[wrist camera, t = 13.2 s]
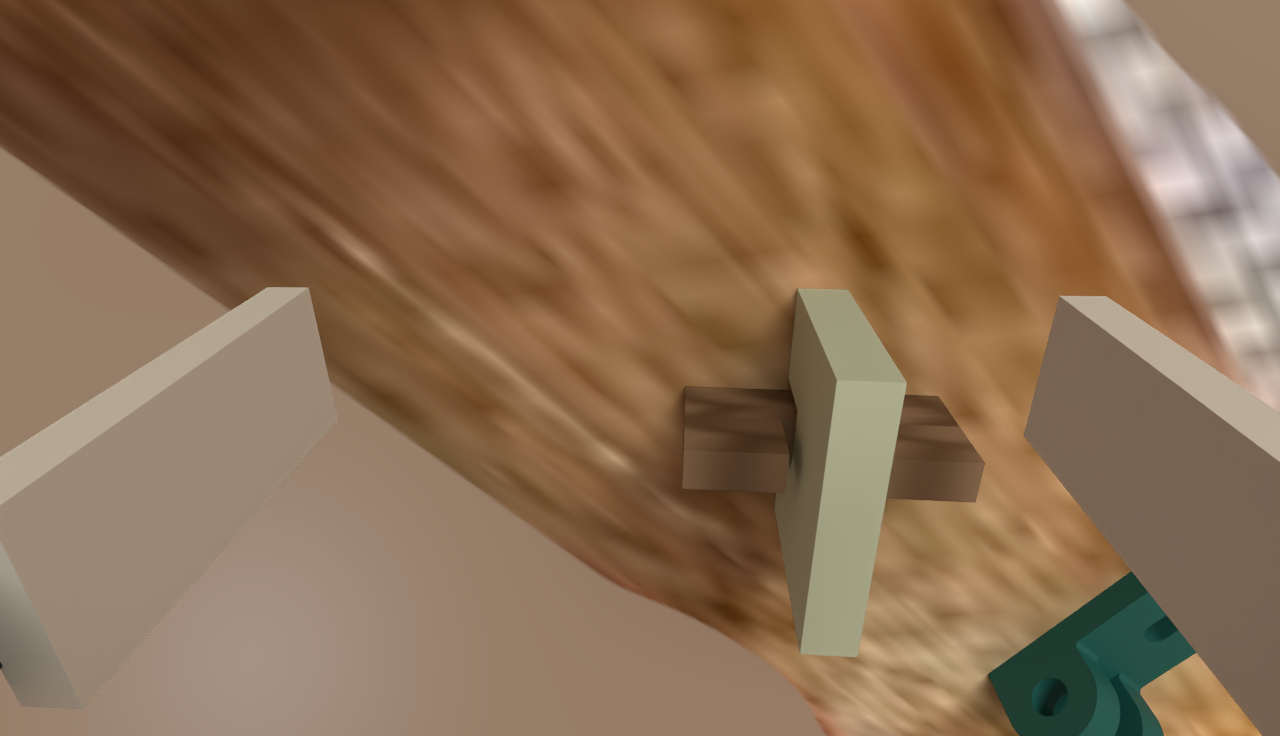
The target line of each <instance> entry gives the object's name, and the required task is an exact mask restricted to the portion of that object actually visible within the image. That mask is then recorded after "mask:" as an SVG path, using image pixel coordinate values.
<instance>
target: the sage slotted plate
mask: <svg viewBox="0 0 1280 736" xmlns="http://www.w3.org/2000/svg"><path fill="white" fill-rule="evenodd" d="M788 379H789V383H790V386H791V390H792V393H793V397H794V400H795V404H796V407H797V420H796V429H795V438H794V447H793V456H792V457H789V464H788V473H787V482H786V490H785V494H784V493H776V499H775V508H774V510H775V516H776V521H777V527H778V533H779V538H780V544H781V550H782V555H783V561H784V567H785V572H786V578H787V584H788V589H789V595H790V601H791V606H792V612H793V618H794V623H795V629H796V634H797V640H798V646H799V651H800V654H809V655H827V656H844V657H858V652H859V646H860V641H861V635H862V630H863V624H864V618H865V613H866V607H867V602H868V596H869V591H870V585H871V579H872V574H873V568H874V563H875V557H876V552H877V546H878V540H879V535H880V529H881V524H882V518H883V513H884V507H885V502H886V496H887V490H888V485H889V479H890V474H891V468H892V463H893V457H894V451H895V446H896V440H897V435H898V429H899V424H900V418H901V413H902V407H903V401H904V396H905V390H906V385H907V382H906V381H905V379H904V377H903V376H902V374H901V373H900V371H899V370H898V368H897V366H896V365H895V363H894V362H893V360H892V359H891V357H890V355H889V354H888V352H887V351H886V349H885V347H884V346H883V344H882V343H881V341H880V340H879V338H878V336H877V335H876V333H875V332H874V330H873V329H872V327H871V325H870V324H869V322H868V321H867V319H866V317H865V316H864V314H863V313H862V311H861V310H860V308H859V306H858V305H857V303H856V302H855V300H854V298H853V297H852V295H851V294H850V292H849V291H848V290H835V289H802V288H797V298H796V308H795V317H794V327H793V336H792V346H791V355H790V365H789V374H788Z"/></svg>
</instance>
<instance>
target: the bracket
mask: <svg viewBox="0 0 1280 736" xmlns="http://www.w3.org/2000/svg"><path fill="white" fill-rule="evenodd" d="M1195 653H1196V651H1195V650H1194V649H1193V648H1192V646H1191V645H1190V644H1189V643H1188V641H1187V640H1186V639H1185V638H1184V636H1183V635H1182V634H1181V633H1180V631H1179V630H1178V629H1177V628H1176V626H1175V625H1174V624H1173V622H1172V621H1171V620H1170V619H1169V617H1168V616H1167V615H1166V614H1165V612H1164V611H1163V610H1162V609H1161V607H1160V606H1159V605H1158V604H1157V602H1156V601H1155V600H1154V599H1153V597H1152V596H1151V595H1150V594H1149V592H1148V591H1147V590H1146V589H1145V587H1144V586H1143V585H1142V584H1141V582H1140V581H1139V580H1138V579H1137V577H1136V576H1135V575H1134V574H1133V572H1132V571H1131V572H1130V573H1128V574H1127V575H1126V576H1124V577H1123V578H1121V579H1120V580H1119V581H1117V582H1116V583H1114V584H1113V585H1112V586H1110V587H1109V588H1107V589H1106V590H1105V591H1103V592H1102V593H1101V594H1099V595H1098V596H1096V597H1095V598H1094V599H1092V600H1091V601H1089V602H1088V603H1087V604H1085V605H1084V606H1082V607H1081V608H1080V609H1078V610H1077V611H1075V612H1074V613H1073V614H1071V615H1070V616H1068V617H1067V618H1066V619H1064V620H1063V621H1062V622H1060V623H1059V624H1057V625H1056V626H1055V627H1053V628H1052V629H1050V630H1049V631H1048V632H1046V633H1045V634H1043V635H1042V636H1041V637H1039V638H1038V639H1036V640H1035V641H1034V642H1032V643H1031V644H1029V645H1028V646H1027V647H1025V648H1024V649H1022V650H1021V651H1020V652H1018V653H1017V654H1016V655H1014V656H1013V657H1011V658H1010V659H1009V660H1007V661H1006V662H1004V663H1003V664H1002V665H1000V666H999V667H997V668H996V669H995V670H993V671H992V672H990V673H989V674H988V675H989V677H990V679H991V682H992V684H993V686H994V688H995V690H996V692H997V694H998V697H999V699H1000V701H1001V703H1002V705H1003V707H1004V709H1005V711H1006V714H1007V716H1008V718H1009V720H1010V722H1011V724H1012V726H1013V728H1014V729H1015V731H1016V732H1017V733H1018V734H1019V735H1020V736H1164V735H1163V731H1162V728H1161V726H1160V723H1159V721H1158V720H1157V718H1156V717H1155V715H1154V714H1153V712H1152V711H1151V709H1150V708H1149V706H1148V705H1147V703H1146V702H1145V701H1144V699H1143V698H1142V696H1141V695H1140V690H1141V688H1142V687H1143V686H1145V685H1147V684H1148V683H1150V682H1151V681H1153V680H1154V679H1156V678H1157V677H1159V676H1160V675H1162V674H1164V673H1165V672H1167V671H1168V670H1170V669H1171V668H1173V667H1174V666H1176V665H1178V664H1179V663H1181V662H1182V661H1184V660H1185V659H1187V658H1188V657H1190V656H1192V655H1193V654H1195Z"/></svg>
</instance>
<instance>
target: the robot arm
mask: <svg viewBox="0 0 1280 736" xmlns="http://www.w3.org/2000/svg"><path fill="white" fill-rule="evenodd" d="M337 421H338V418H337V414H336V409H335V404H334V400H333V396H332V391H331V386H330V382H329V377H328V373H327V368H326V364H325V359H324V355H323V350H322V346H321V341H320V337H319V332H318V328H317V323H316V319H315V314H314V310H313V305H312V301H311V296H310V292H309V288H290V287H267V288H266V289H264V290H263V291H261V292H259V293H258V294H256V295H255V296H253V297H252V298H250V299H248V300H247V301H245V302H244V303H242V304H241V305H239V306H237V307H236V308H234V309H233V310H231V311H230V312H228V313H226V314H225V315H223V316H222V317H220V318H219V319H217V320H216V321H214V322H212V323H211V324H209V325H208V326H206V327H205V328H203V329H201V330H200V331H198V332H197V333H195V334H193V335H192V336H190V337H189V338H187V339H186V340H184V341H182V342H181V343H179V344H178V345H176V346H174V347H173V348H171V349H170V350H168V351H167V352H165V353H163V354H162V355H160V356H159V357H157V358H156V359H154V360H153V361H151V362H150V363H148V364H146V365H145V366H143V367H141V368H140V369H138V370H137V371H135V372H134V373H132V374H130V375H129V376H127V377H126V378H124V379H123V380H121V381H119V382H118V383H117V384H115V385H113V386H112V387H110V388H108V389H107V390H105V391H104V392H102V393H101V394H99V395H97V396H96V397H94V398H93V399H91V400H90V401H88V402H86V403H85V404H83V405H82V406H80V407H79V408H77V409H75V410H74V411H72V412H71V413H69V414H68V415H66V416H65V417H63V418H61V419H60V420H58V421H57V422H55V423H53V424H52V425H50V426H49V427H47V428H46V429H44V430H43V431H41V432H39V433H38V434H36V435H35V436H33V437H32V438H30V439H28V440H27V441H25V442H24V443H22V444H20V445H19V446H17V447H16V448H14V449H13V450H11V451H10V452H8V453H6V454H5V455H3V456H2V457H0V669H1V670H2V672H3V674H4V676H5V678H6V680H7V681H8V683H9V685H10V687H11V689H12V690H13V692H14V694H15V696H16V698H17V699H18V701H19V703H20V704H21V706H25V707H46V708H65V709H85V708H86V707H87V706H88V705H89V703H90V702H91V701H92V700H93V699H94V698H95V697H96V696H97V694H98V693H99V692H100V691H101V690H102V689H103V687H105V685H106V684H107V683H108V682H109V680H111V678H112V677H113V676H114V675H115V674H116V673H117V672H118V670H119V669H120V668H121V667H122V666H123V665H124V664H125V663H126V661H127V660H128V659H129V658H130V657H131V656H132V655H133V653H134V652H135V651H136V650H137V649H138V648H139V647H140V645H141V644H142V643H143V642H144V641H145V639H147V637H148V636H149V635H150V634H151V633H152V632H153V631H154V630H155V628H156V627H157V626H158V625H159V624H160V623H161V622H162V620H163V619H164V618H165V617H166V616H167V615H168V614H169V612H170V611H171V610H172V609H173V608H174V607H175V606H176V604H177V603H178V602H179V601H180V600H181V599H182V598H183V596H184V595H185V594H186V593H187V592H188V591H189V590H190V588H191V587H192V586H193V585H194V584H195V583H196V582H197V580H198V579H199V578H200V577H201V576H202V575H203V574H204V573H205V571H206V570H207V569H208V568H209V567H210V565H211V564H212V563H213V562H214V561H215V560H216V558H218V556H219V555H220V554H221V553H222V552H223V551H224V549H225V548H226V547H227V546H228V545H229V544H230V543H231V542H232V541H233V539H234V538H235V537H236V536H237V535H238V533H240V531H241V530H242V529H243V528H244V527H245V526H246V525H247V523H248V522H249V521H250V520H251V519H252V518H253V517H254V515H255V514H256V513H257V512H258V511H259V510H260V509H261V508H262V506H263V505H264V504H265V503H266V502H267V501H268V500H269V498H270V497H271V496H272V495H273V494H274V493H275V492H276V490H277V489H278V488H279V487H280V486H281V484H283V482H284V481H285V480H286V479H287V478H288V477H289V476H290V474H291V473H292V472H293V471H294V470H295V469H296V468H297V466H298V465H299V464H300V463H301V462H302V461H303V460H304V458H305V457H306V456H307V455H308V454H309V453H310V452H311V450H312V449H313V448H314V447H315V446H316V445H317V444H318V442H319V441H320V440H321V439H322V438H323V437H324V435H326V433H327V432H328V431H329V430H330V429H331V428H332V426H333V425H334V424H335V423H336V422H337ZM1024 437H1025V438H1026V439H1027V441H1028V442H1029V443H1030V444H1031V446H1032V447H1033V448H1034V449H1035V451H1036V452H1037V453H1038V454H1039V456H1040V457H1041V458H1042V459H1043V461H1044V462H1045V463H1046V464H1047V466H1048V467H1049V468H1050V469H1051V471H1052V472H1053V473H1054V474H1055V476H1056V477H1057V478H1058V479H1059V481H1060V482H1061V483H1062V484H1063V486H1064V487H1065V488H1066V489H1067V491H1068V492H1069V493H1070V494H1071V496H1072V497H1073V498H1074V500H1075V501H1076V502H1077V503H1078V505H1079V506H1080V507H1081V508H1082V510H1083V511H1084V512H1085V513H1086V515H1087V516H1088V517H1089V518H1090V520H1091V521H1092V522H1093V523H1094V525H1095V526H1096V527H1097V528H1098V530H1099V531H1100V532H1101V533H1102V535H1103V536H1104V537H1105V538H1106V540H1107V541H1108V542H1109V543H1110V545H1111V546H1112V547H1113V548H1114V550H1115V551H1116V552H1117V553H1118V555H1119V556H1120V557H1121V558H1122V560H1123V561H1124V562H1125V564H1126V565H1127V566H1128V567H1129V569H1130V570H1131V571H1132V572H1133V574H1134V575H1135V576H1136V577H1137V579H1138V580H1139V581H1140V582H1141V584H1142V585H1143V586H1144V587H1145V589H1146V590H1147V591H1148V592H1149V594H1150V595H1151V596H1152V597H1153V599H1154V600H1155V601H1156V602H1157V604H1158V605H1159V606H1160V607H1161V609H1162V610H1163V611H1164V612H1165V614H1166V615H1167V616H1168V617H1169V619H1170V620H1171V621H1172V622H1173V624H1174V625H1175V626H1176V628H1177V629H1178V630H1179V631H1180V633H1181V634H1182V635H1183V636H1184V638H1185V639H1186V640H1187V641H1188V643H1189V644H1190V645H1191V646H1192V648H1193V649H1194V650H1195V651H1196V653H1197V654H1198V655H1199V656H1200V658H1201V659H1202V660H1203V661H1204V663H1205V664H1206V665H1207V666H1208V668H1209V669H1210V670H1211V671H1212V673H1213V674H1214V675H1215V676H1216V678H1217V679H1218V680H1219V681H1220V683H1221V684H1222V685H1223V686H1224V688H1225V689H1226V690H1227V692H1228V693H1229V694H1230V695H1231V697H1232V698H1233V699H1234V700H1235V702H1236V703H1237V704H1238V705H1239V707H1240V708H1241V709H1242V710H1243V712H1244V713H1245V714H1246V715H1247V717H1248V718H1249V719H1250V720H1251V722H1252V723H1253V724H1254V725H1255V727H1256V728H1257V729H1258V730H1259V732H1260V733H1261V734H1262V735H1263V736H1280V412H1278V411H1277V410H1275V409H1274V408H1272V407H1271V406H1269V405H1268V404H1266V403H1265V402H1263V401H1262V400H1260V399H1259V398H1257V397H1256V396H1254V395H1253V394H1251V393H1250V392H1248V391H1247V390H1245V389H1244V388H1242V387H1241V386H1239V385H1238V384H1236V383H1235V382H1233V381H1232V380H1230V379H1229V378H1227V377H1226V376H1224V375H1223V374H1221V373H1220V372H1218V371H1217V370H1215V369H1214V368H1212V367H1211V366H1209V365H1208V364H1206V363H1205V362H1203V361H1202V360H1201V359H1199V358H1198V357H1196V356H1195V355H1193V354H1192V353H1190V352H1189V351H1187V350H1186V349H1184V348H1183V347H1181V346H1180V345H1178V344H1177V343H1175V342H1174V341H1172V340H1171V339H1169V338H1168V337H1166V336H1165V335H1163V334H1162V333H1160V332H1159V331H1157V330H1156V329H1154V328H1153V327H1151V326H1150V325H1148V324H1147V323H1145V322H1144V321H1142V320H1141V319H1139V318H1138V317H1136V316H1135V315H1133V314H1132V313H1130V312H1129V311H1127V310H1126V309H1124V308H1123V307H1121V306H1120V305H1118V304H1117V303H1115V302H1114V301H1112V300H1111V299H1109V298H1108V297H1106V296H1059V300H1058V304H1057V308H1056V312H1055V315H1054V319H1053V323H1052V327H1051V331H1050V335H1049V339H1048V343H1047V347H1046V351H1045V354H1044V358H1043V362H1042V366H1041V370H1040V374H1039V378H1038V382H1037V386H1036V390H1035V394H1034V397H1033V401H1032V405H1031V409H1030V413H1029V417H1028V421H1027V425H1026V429H1025V433H1024Z"/></svg>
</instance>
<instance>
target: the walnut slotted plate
mask: <svg viewBox="0 0 1280 736" xmlns="http://www.w3.org/2000/svg"><path fill="white" fill-rule="evenodd" d="M796 420H797V407H796V404H795V400H794V397H793V393H792V391H790V390H764V389H738V388H713V387H687V386H685V404H684V434H683V476H682V489H699V490H720V491H742V492H763V493H784V494H785V490H786V482H787V473H788V464H789V457H792V456H793V447H794V438H795V429H796ZM984 465H985V463H984V461H983V460H982V458H981V457H980V455H979V454H978V453H977V451H976V450H975V448H974V447H973V445H972V444H971V443H970V441H969V440H968V438H967V437H966V435H965V434H964V432H963V431H962V430H961V428H960V427H959V425H958V424H957V422H956V421H955V420H954V418H953V417H952V415H951V414H950V412H949V411H948V409H947V408H946V407H945V405H944V404H943V402H942V401H941V399H940V398H939V397H938V396H917V395H905V396H904V401H903V407H902V413H901V418H900V424H899V429H898V435H897V440H896V446H895V451H894V457H893V463H892V468H891V474H890V479H889V485H888V490H887V496H886V498H891V499H912V500H933V501H955V502H976V498H977V494H978V490H979V485H980V481H981V477H982V473H983V469H984Z"/></svg>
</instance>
